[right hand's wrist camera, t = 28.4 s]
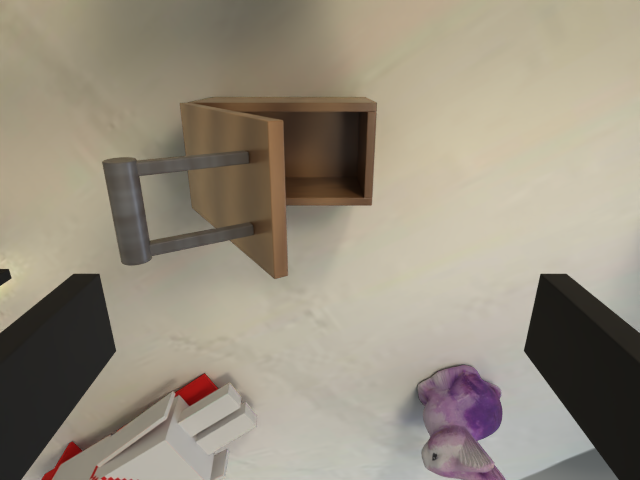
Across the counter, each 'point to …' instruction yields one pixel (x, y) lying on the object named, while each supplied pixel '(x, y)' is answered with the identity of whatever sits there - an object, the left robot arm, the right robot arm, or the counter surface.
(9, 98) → the counter surface
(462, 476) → the figurine
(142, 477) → the toy
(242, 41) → the counter surface
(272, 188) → the door
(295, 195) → the chest
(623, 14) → the counter surface
